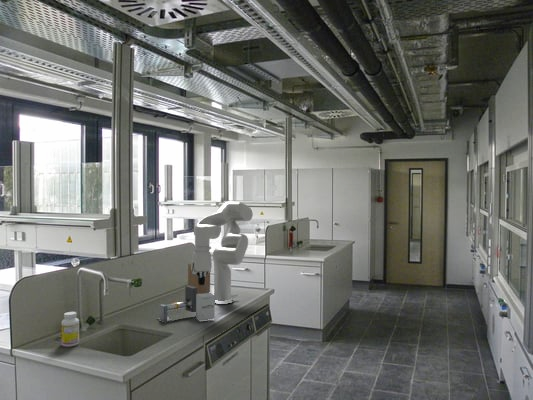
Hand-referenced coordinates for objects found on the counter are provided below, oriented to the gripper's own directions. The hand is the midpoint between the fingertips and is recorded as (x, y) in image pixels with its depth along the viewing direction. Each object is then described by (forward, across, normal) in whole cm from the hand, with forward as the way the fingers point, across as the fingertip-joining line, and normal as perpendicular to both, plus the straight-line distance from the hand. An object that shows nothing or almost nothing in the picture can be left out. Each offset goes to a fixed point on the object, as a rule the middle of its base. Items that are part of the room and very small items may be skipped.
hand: (201, 284), depth 228 cm
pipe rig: (+15, +12, 0) cm, 19 cm away
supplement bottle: (+16, +67, +7) cm, 69 cm away
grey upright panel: (+13, +6, 0) cm, 14 cm away
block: (+14, -20, -34) cm, 42 cm away
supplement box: (+15, +5, +12) cm, 20 cm away
